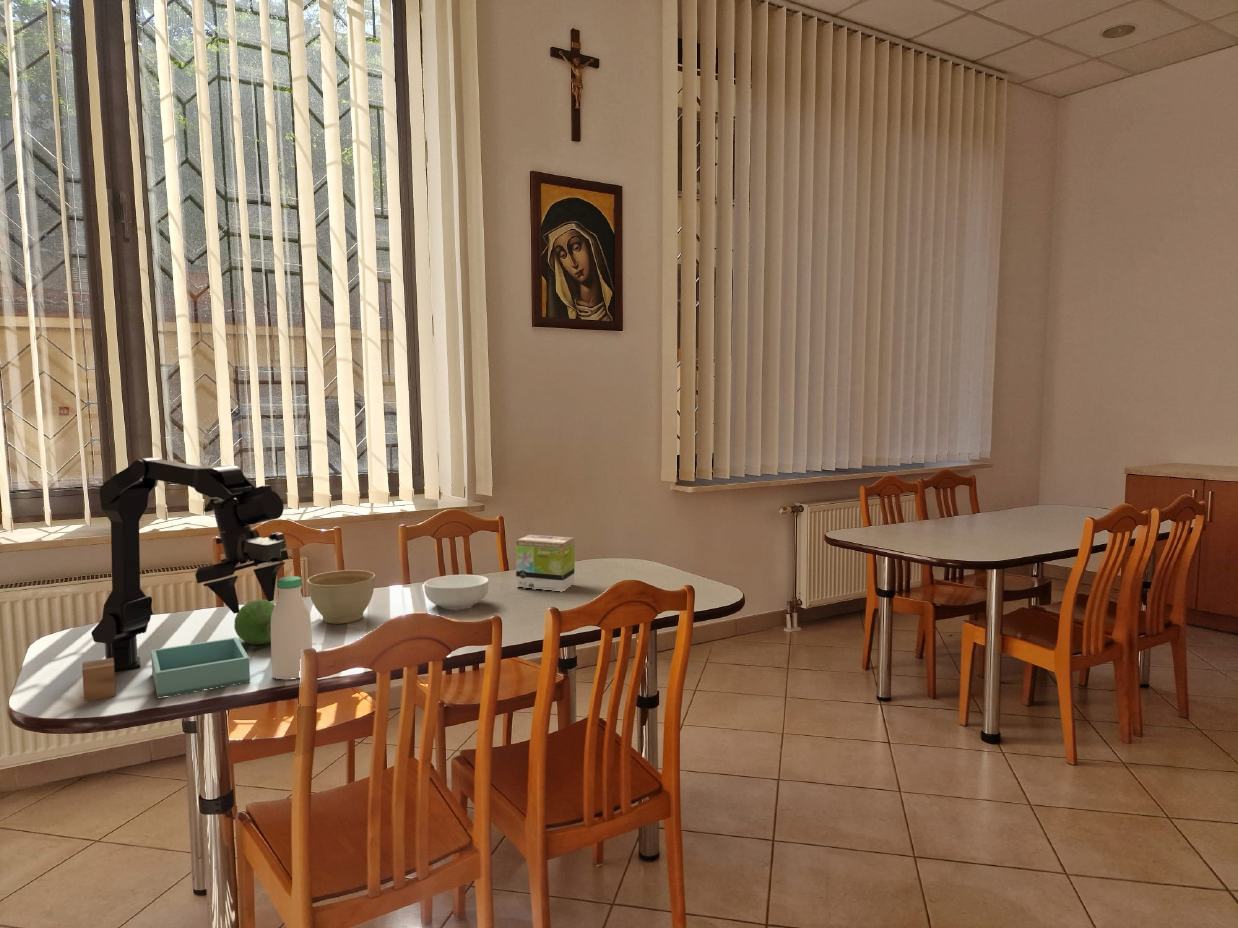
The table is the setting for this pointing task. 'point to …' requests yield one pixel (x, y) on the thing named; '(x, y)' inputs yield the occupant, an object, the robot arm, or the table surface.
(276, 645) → the milk bottle
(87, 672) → the walnut block
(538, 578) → the tea box
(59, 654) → the table surface
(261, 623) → the fruit
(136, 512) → the robot arm
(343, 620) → the planter bowl
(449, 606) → the cereal bowl
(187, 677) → the teal bin
